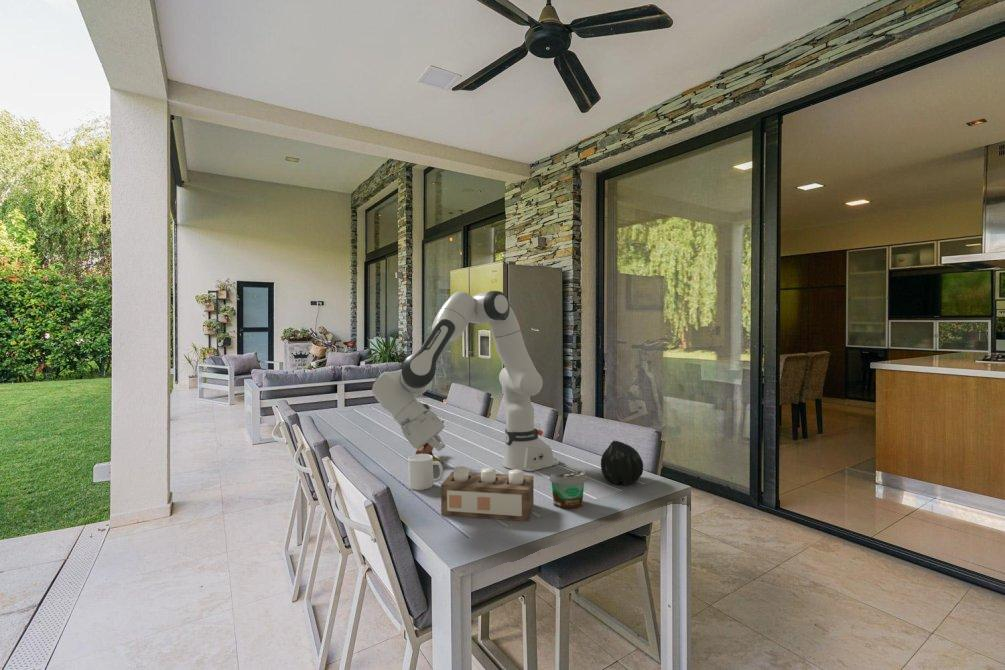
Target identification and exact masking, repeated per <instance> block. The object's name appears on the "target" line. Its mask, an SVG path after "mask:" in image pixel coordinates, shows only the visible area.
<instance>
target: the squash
mask: <svg viewBox="0 0 1005 670" xmlns="http://www.w3.org/2000/svg"><path fill="white" fill-rule="evenodd" d="M600 470H601V473H602V475H603V477H604V478H605V479H606V480H608V481H609V482H610V483H611V482H613V484H615V485H620V484H622V485H624V486H625V485H626V486H627V485H628V486H629V484H631V483H634V482H635V483H636V482H637V481H638V480H639V479H640V478H641V476H643V472H644V462H643V460H642V457H641V454H639V452H638V451H637V450H636V449H635V448H634V447H632V446H630V445H629V444H626V443H624V442H622V441H619V440H612V442H610V444H609V445H608V447H607V448H606V449H605V451H604V452H603V454H602V456H601V459H600Z"/></svg>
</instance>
